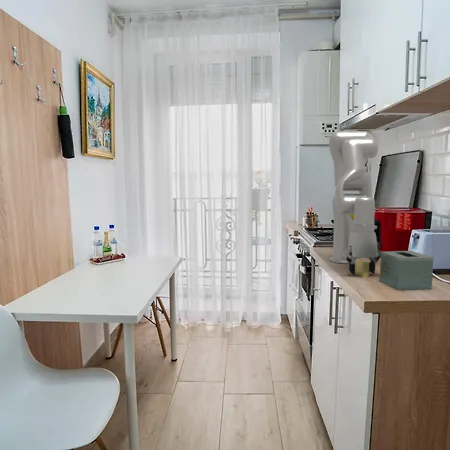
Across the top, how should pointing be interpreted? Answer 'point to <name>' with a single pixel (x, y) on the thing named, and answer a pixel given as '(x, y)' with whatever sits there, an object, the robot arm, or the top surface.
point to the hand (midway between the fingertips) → (361, 272)
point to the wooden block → (362, 268)
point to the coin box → (406, 270)
